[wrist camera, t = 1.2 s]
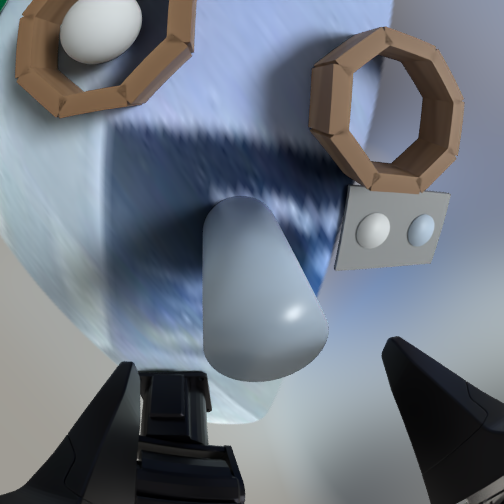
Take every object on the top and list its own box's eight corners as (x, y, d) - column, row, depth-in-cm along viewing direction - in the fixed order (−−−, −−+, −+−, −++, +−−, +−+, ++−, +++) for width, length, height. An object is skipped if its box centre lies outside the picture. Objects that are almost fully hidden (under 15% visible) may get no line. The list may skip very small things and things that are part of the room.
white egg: (147, 61, 12) (127, 50, 9) (78, 73, 11) (42, 70, 8) (151, -4, 10) (135, -31, 7) (82, 10, 9) (50, -7, 6)
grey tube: (274, 261, 19) (316, 374, 11) (204, 264, 18) (208, 385, 11) (279, 195, 17) (340, 290, 9) (201, 197, 16) (198, 299, 8)
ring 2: (421, 181, 17) (449, 197, 15) (304, 173, 16) (323, 189, 14) (435, 60, 13) (466, 61, 11) (313, 25, 12) (334, 12, 9)
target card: (428, 261, 21) (431, 264, 21) (333, 268, 20) (335, 271, 20) (448, 193, 18) (451, 194, 18) (348, 184, 17) (351, 186, 17)
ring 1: (192, 100, 13) (188, 101, 11) (44, 121, 12) (16, 129, 10) (200, -41, 9) (199, -65, 7) (51, -11, 8) (28, -23, 5)
